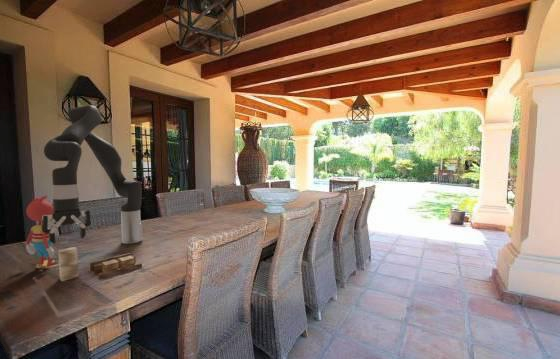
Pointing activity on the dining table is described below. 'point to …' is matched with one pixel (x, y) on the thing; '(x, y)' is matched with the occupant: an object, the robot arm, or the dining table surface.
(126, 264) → the offcut
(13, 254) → the dining table surface
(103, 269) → the offcut
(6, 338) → the dining table surface
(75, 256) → the long beige rectangular prism
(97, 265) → the rack
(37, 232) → the toy
